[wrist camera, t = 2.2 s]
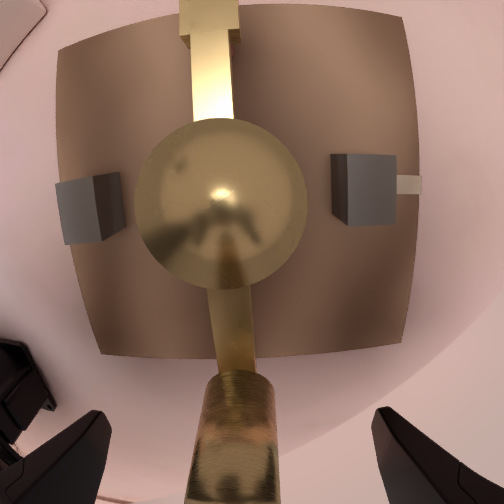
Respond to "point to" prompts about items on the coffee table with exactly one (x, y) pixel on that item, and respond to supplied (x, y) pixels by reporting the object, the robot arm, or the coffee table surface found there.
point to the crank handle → (224, 252)
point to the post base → (291, 136)
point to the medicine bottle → (17, 23)
